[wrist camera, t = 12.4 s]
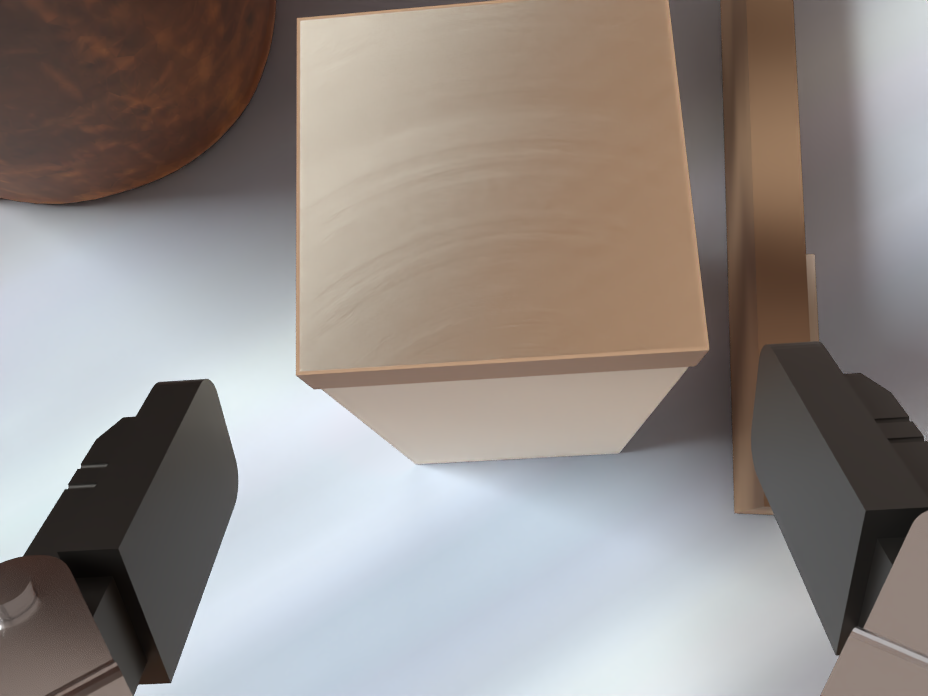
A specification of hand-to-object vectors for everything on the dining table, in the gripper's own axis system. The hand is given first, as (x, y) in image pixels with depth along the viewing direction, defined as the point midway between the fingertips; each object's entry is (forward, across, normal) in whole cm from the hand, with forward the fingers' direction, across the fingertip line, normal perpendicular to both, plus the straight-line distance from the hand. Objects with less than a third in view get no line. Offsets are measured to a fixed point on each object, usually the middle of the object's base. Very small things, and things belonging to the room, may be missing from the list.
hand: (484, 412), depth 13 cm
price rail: (+15, -8, 0) cm, 17 cm away
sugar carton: (+10, 0, +5) cm, 11 cm away
